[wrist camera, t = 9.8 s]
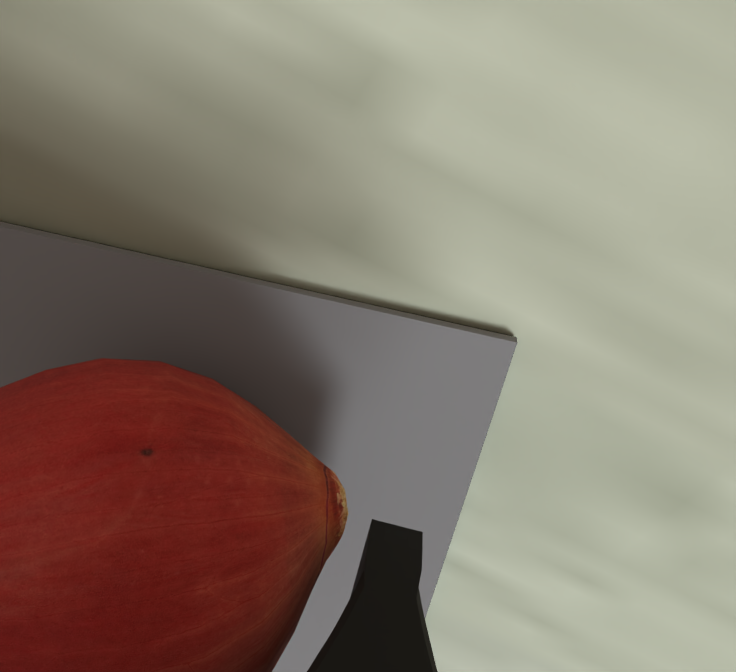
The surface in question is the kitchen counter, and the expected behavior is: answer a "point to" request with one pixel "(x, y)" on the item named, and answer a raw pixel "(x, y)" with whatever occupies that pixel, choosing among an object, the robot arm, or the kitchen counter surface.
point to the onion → (153, 523)
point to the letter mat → (279, 381)
